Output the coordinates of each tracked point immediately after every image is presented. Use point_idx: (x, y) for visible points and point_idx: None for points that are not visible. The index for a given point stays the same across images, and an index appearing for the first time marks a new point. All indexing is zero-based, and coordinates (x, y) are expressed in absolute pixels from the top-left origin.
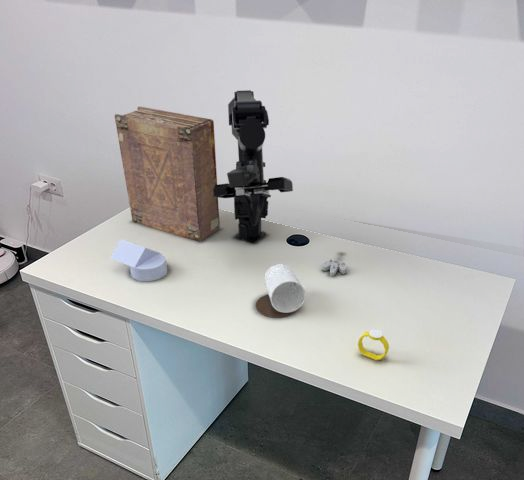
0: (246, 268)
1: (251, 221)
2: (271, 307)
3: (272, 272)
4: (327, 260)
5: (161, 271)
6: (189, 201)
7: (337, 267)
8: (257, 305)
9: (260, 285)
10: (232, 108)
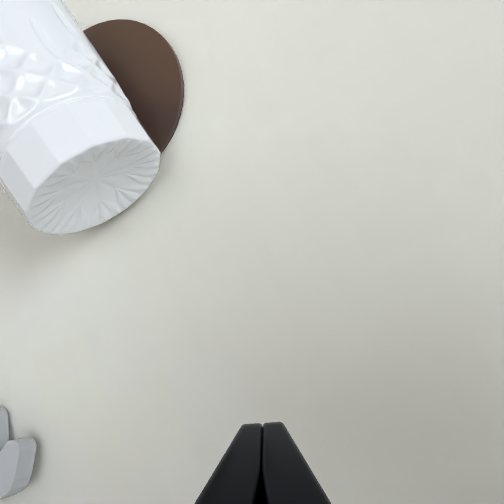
0: (366, 322)
1: (278, 443)
2: (114, 72)
3: (54, 91)
4: (6, 494)
5: None
6: None
7: None
8: (166, 53)
9: (226, 205)
10: None
